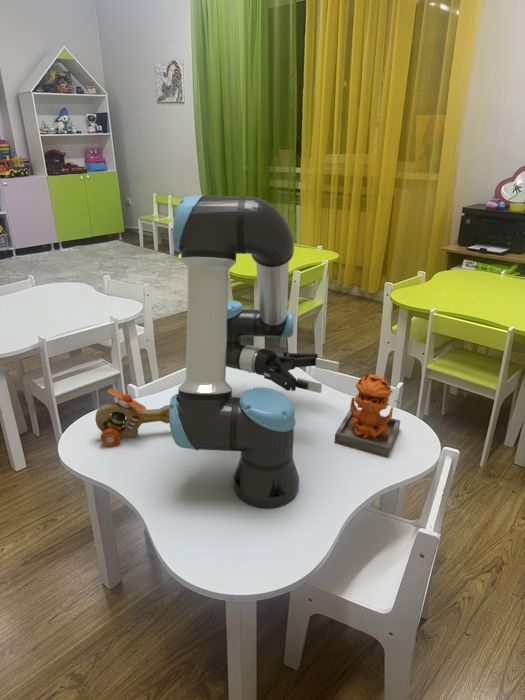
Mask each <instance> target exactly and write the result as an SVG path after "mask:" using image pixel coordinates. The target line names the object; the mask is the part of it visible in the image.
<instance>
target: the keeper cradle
mask: <svg viewBox="0 0 525 700" xmlns="http://www.w3.org/2000/svg"><path fill="white" fill-rule="evenodd" d="M358 412H360V413H361V409H358ZM380 416H381V419H382V420H383V419H384V418H385V417H386V416H384V415H381V414H380ZM353 417H354V415H353V414H352V412H351V410H350V409H349V410H348V411H347V413H346V415H345V417H344V418H343V420H342V422H341V423H340V425H339V426H338V429H336V432H335V435H334V444H337V445H341V446H345V447H348V448H352V449H355V450H358V451H362V452H366V453H370V454H373V455H376V456H380V457H383V458H387V459H388V458H389V456H390V453H391V451H392V448H393V445H394V443H395V441H396V438H397V436H398V433H399V430H400V426H401V419H397V418H393V417H391V420H389V421H388V422H387V423H386V424H387V435H386V436H385V435H384V433H382V432H381V433H380V434H379V435H380V436H379V435H378V437H376V439H365V438H363V437H361V436H359V435H358V436H356V433H355V426H354V424H353V426H352V427H351V422H352V419H353Z"/></svg>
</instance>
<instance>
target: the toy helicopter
mask: <svg viewBox="0 0 525 700" xmlns="http://www.w3.org/2000/svg"><path fill="white" fill-rule="evenodd" d="M107 393H108V395H111V396H113V397H115V398H118V401H117V402H109V403H106V404H104V405H101V406H100V407H99V408H98V409H97V410H96V411H95V412H96V413H95V423H96V426H97V428H98V429H99V430H100V431H101V435H100V442H101V443H102V445H104V446H105V447H110V448H111V447H115V446H117V445H118V444H119V443H120V441H121V437H126V436H128V437H131V438H136V437H137V436H138V434H139V429H140V427H141V425H142V424H148V423H156V422H162V423H164V424H170V423H169V410H170V404H167V405H163V406H162V407H160V408H155V409H153V408H152V409H147V407H146V406H145V405H143V404H141V403H140V402H138V401H137V400H134V399H133V398H132V396H131V395H130V394H129V393H128V394H126V393H123V392H120V391H119V390H117V389H114V388H110V389H108V390H107Z"/></svg>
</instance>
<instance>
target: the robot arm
mask: <svg viewBox="0 0 525 700" xmlns="http://www.w3.org/2000/svg"><path fill="white" fill-rule="evenodd" d="M172 238H173V239H172V247H173V249H174V250H175V251H176V252H177V253H179V254H180V253H181V254H180V255H181V256H180V259H181V262H182V263H183V264H184V265H185V266H186V267H187V270H188V271H187V303H186V304H187V306H186V307H187V308H186V309H187V310H186V311H187V312H186V313H187V315H186V316H187V317H186V318H187V319H186V349H185V351H186V353H185V354H186V355H185V356H186V359H185V380H184V381H183V382H182V384H180V385H179V387H178V389H177V390H178V392H177V393H176V394H174V395H172V397H171V398H170V400H169V405H170V410H169V423H168V424H169V429H170V434H171V437H172V439H173V441H174V443H175V445H176V446H178V447H179V448H182V449H188V450H189V449H190V450H194V451H199V450H202V451H203V450H206V451H207V450H208V451H221V452H222V451H225V452H240V458H239V461H238V464H237V466H236V467H235V468H236V469H235V471H234V473H233V477H232V478H233V491H234V493H235V495H236V496H237V497H238V499H240V500H241V501H242V502H244V503H245V504H247V505H249V506H252V507H256V508H261V509H262V508H263V509H264V508H265V509H271V508H278V507H282V506H284V505H286V504H288V503H290V502H291V501H292V500H293V499H294V498H295V497H296V496H297V494H298V492H299V488H300V487H299V486H300V475H299V473H298V470H297V467H296V464H295V463H296V462H295V460H294V458H293V455H294V433H295V431H294V429H295V426H296V418H295V407H294V404H293V402H292V400H291V398H289V397H288V396H287V395H285V394H284V393H282V392H280V391H278V390H276V389H273V388H269V387H253V388H252V389H251V388H249V389H247V390H244V391H243V392H242V394H241V396H240V397H239V396H238V397H235V396H233V388H232V386H231V385H230V384H229V383H228V382H227V380H226V377H227V376H226V374H227V373H226V372H227V370H226V368H232V369H235V370H239V371H243V372H248V373H249V374H251V373H252V374H257V375H259V376H263V378H264V379H266V380H268V381H271V382H273V383H275V384H276V385H278V386H279V387H281V388H282V389H284V390H286V391H289V392H290V391H293V392H296V390H297V388H298V389H302V390H306V391H310V392H312V393H313V392H314V393H318V394H321V393H322V390H323V389H322V387H323V386H322V385H323V383H322V382H321V381H317V380H313V379H307V378H305V377H300V376H297V378H296V377H295V376H294V375H293V374H292V373H291V372H290V370H294V369H296V368H303V367H304V368H305V367H315V368H316V369H322V370H327V371H330V372H336V373H338V372H339V367H340V362H338V361H335V360H334V361H333V360H329V359H326V358H325V359H324V358H320V357H319V356H318V355H319V354H318V353H303V352H302V353H301V352H297V353H295V352H294V353H293V352H286V351H284V352H283V355H282V356H278V355H277V354H276V352H275V351H274V350H271V349H268V348H261V347H258V346H254V345H249V344H244V343H243V337H261V338H263V337H264V338H278V339H280V338H291V337H293V335H294V326H295V325H294V324H295V323H294V321H295V314H294V312H293V311H291V310H288V306H289V305H288V304H289V303H288V301H289V300H288V298H289V269H290V267H289V262H290V261H291V260H292V258H293V255H294V252H295V251H294V250H295V248H294V247H295V244H294V243H295V241H294V236H293V232H292V229H291V227H290V225H289V223H288V222H287V220H286V218H285V217H284V215H283V214H282V213H281V212H280V211H279V210H278V208H276V207H275V206H273V204H271V203H270V202H269V201H266V200H264V199H262V198H259V197H255V196H231V195H229V196H228V195H208V194H201V195H192V196H191V195H187V196H185V197H184V198H182V199H181V200H180V202H179V203H178V205H177V207H176V210H175V214H174V219H173V224H172ZM237 254H239V255H246V254H249V255H251V258H252V259H253V261H254V262H255V265H256V278H257V279H256V281H257V296H258V309H244V307H243V304H242V303H241V302H240V301H238V300H234V299H233V300H232V299H231V300H230V299H229V276H230V275H229V273H230V272H229V271H230V270H231V268H232V267H233V266H234V265H235V264H236V263H237Z"/></svg>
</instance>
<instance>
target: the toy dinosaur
mask: <svg viewBox="0 0 525 700" xmlns="http://www.w3.org/2000/svg"><path fill="white" fill-rule="evenodd" d="M355 387H356V388H355V389H357V391H358V394H357V395H355V396H352V397H351V402H350V406H349V408H350V409H349V410H351V412H352V414H353V415H354V417H353V419H352V422H351V427H352V426H353V424H354V426H355V433H356V436H358V435H359V436H361V437H363V438H365V439H376V437H378V435H379V434H380V433H381V432H382V433H384V435H385V436H386V435H387V424H386V423H387V422H388V421H389V420H391V418H393V409H394V407H393V406H391V408H390V409H389V414H387V415H386V416H385V418H384V419H383V420H382V419H381V416H382V415H381V414H380V413H381V411H383V410H386V409H387V408H388V406H389V405H390V404H389V403H388V402H389V401H390V396H391V395H392V394H391V393H393V390H392V387H391V385H389V382H388V381H387V378H385V377H383V376H379V375H376V374H373V373H372V374H368V373H367V372H366V373H365V376H362V377H361V378H359V380H357V382H356V384H355ZM355 403H356V405H355ZM359 409H360V410H361V413H360V412H358V410H359ZM380 415H381V416H380ZM379 436H380V435H379Z"/></svg>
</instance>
